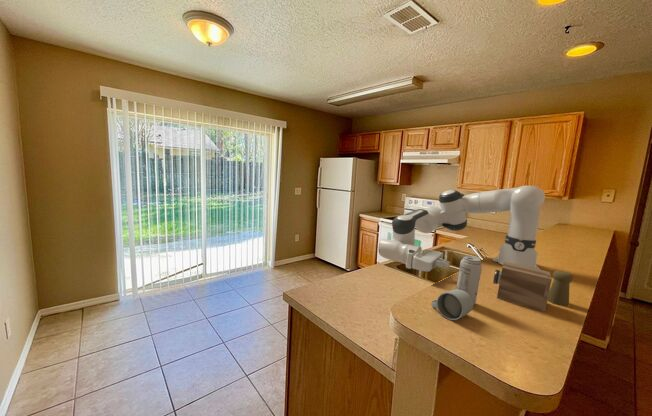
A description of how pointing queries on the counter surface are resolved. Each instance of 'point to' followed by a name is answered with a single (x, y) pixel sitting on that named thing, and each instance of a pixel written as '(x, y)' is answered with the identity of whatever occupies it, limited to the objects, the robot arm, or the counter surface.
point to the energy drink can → (469, 276)
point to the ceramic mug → (453, 304)
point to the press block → (524, 286)
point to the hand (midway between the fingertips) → (449, 264)
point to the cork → (560, 288)
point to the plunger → (497, 277)
